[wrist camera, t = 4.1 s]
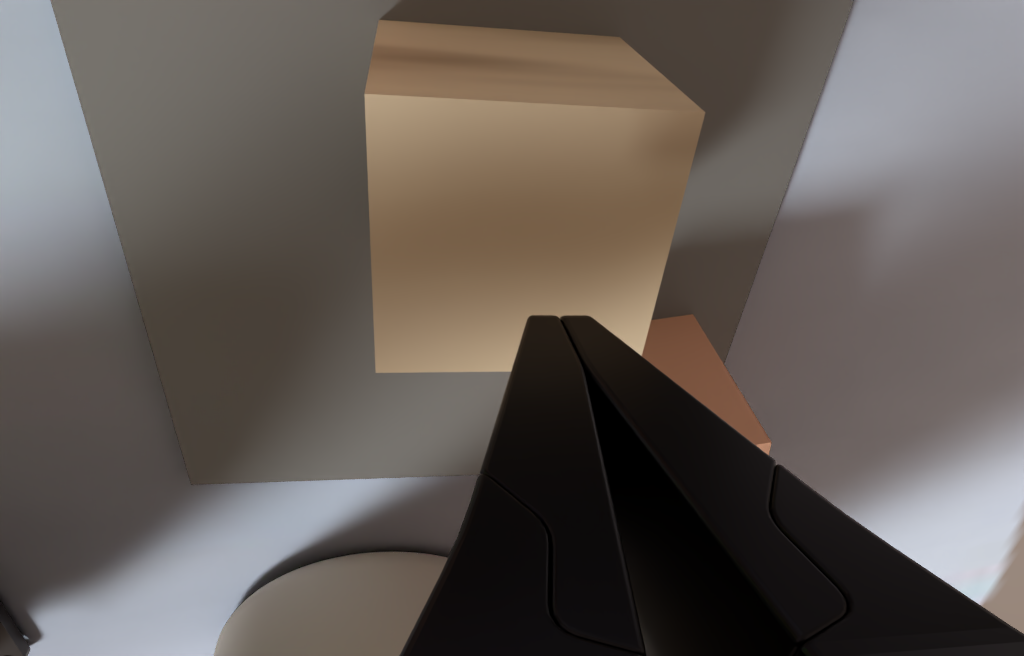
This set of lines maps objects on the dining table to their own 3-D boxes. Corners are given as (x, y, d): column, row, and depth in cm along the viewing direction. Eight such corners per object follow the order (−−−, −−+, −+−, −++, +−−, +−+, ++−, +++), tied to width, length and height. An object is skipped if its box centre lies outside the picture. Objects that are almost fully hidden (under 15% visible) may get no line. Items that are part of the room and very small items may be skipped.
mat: (682, 459, 23) (686, 467, 22) (194, 474, 20) (191, 484, 20) (1031, -542, 10) (1051, -555, 10) (-172, -827, 7) (-198, -857, 7)
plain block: (583, 245, 17) (637, 370, 13) (384, 242, 16) (375, 372, 12) (619, 36, 14) (705, 112, 10) (378, 20, 13) (364, 93, 9)
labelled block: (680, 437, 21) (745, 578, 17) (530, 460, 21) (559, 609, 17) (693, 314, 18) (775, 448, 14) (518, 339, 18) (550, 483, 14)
